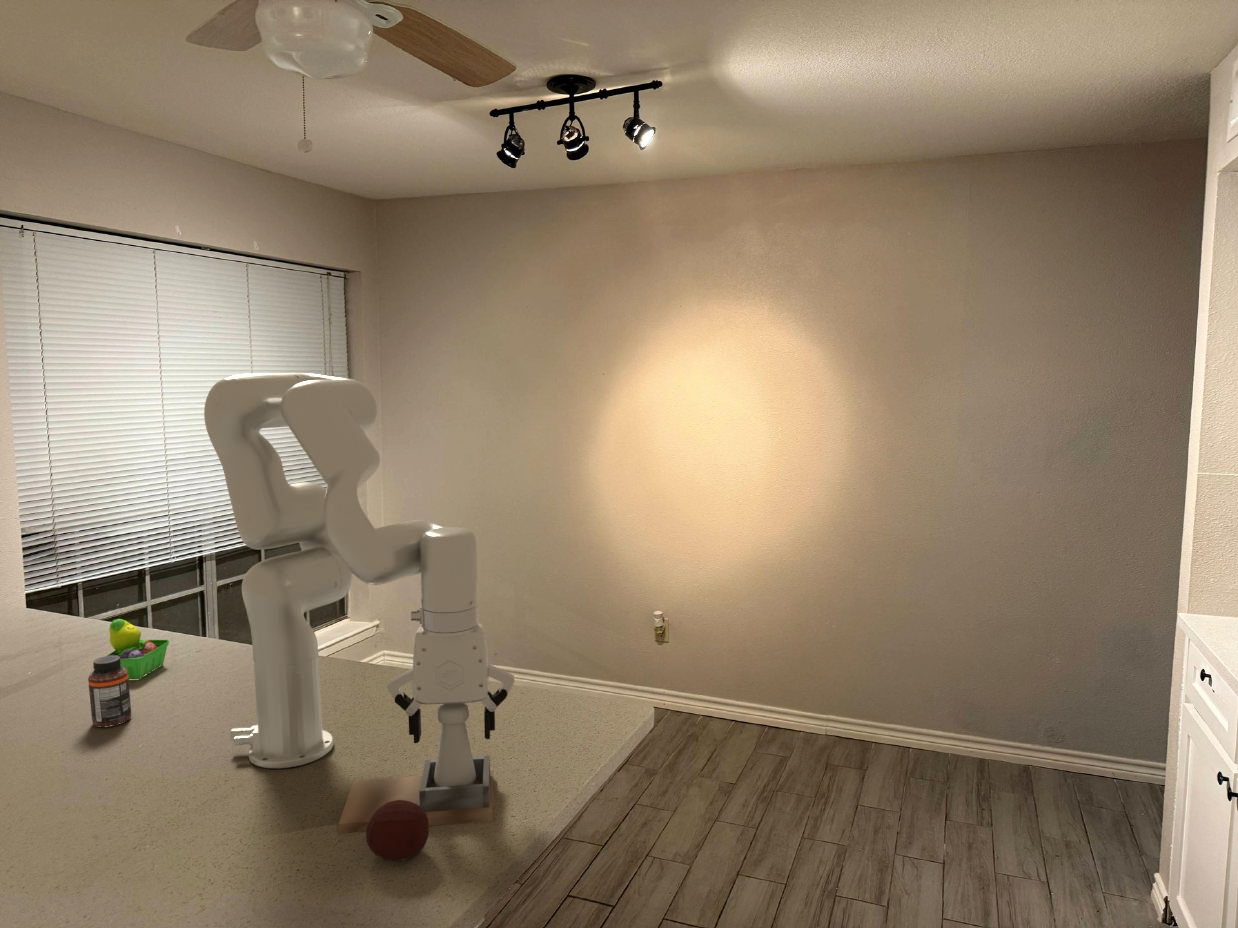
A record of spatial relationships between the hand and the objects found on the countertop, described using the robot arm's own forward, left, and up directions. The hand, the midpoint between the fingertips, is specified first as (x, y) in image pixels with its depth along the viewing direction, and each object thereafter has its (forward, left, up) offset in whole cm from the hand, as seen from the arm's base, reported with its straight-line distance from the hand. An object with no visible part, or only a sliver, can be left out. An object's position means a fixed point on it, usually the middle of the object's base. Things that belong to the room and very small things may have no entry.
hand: (452, 736), depth 120 cm
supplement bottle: (-61, +37, -10) cm, 72 cm away
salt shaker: (0, 0, -8) cm, 8 cm away
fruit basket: (-67, +62, -10) cm, 91 cm away
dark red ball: (-6, -13, -10) cm, 17 cm away
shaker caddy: (-5, 0, -9) cm, 10 cm away
